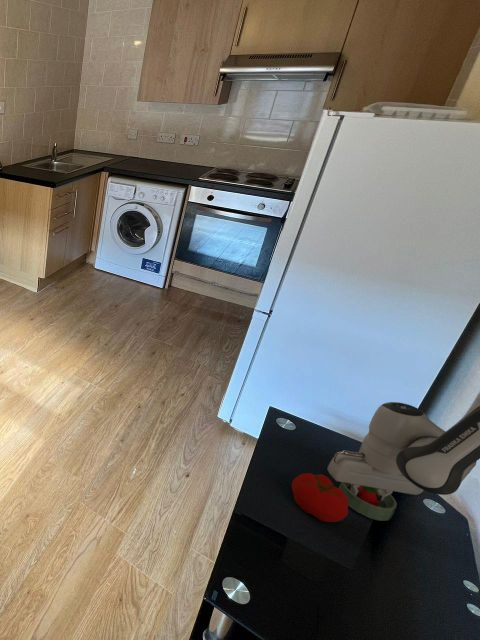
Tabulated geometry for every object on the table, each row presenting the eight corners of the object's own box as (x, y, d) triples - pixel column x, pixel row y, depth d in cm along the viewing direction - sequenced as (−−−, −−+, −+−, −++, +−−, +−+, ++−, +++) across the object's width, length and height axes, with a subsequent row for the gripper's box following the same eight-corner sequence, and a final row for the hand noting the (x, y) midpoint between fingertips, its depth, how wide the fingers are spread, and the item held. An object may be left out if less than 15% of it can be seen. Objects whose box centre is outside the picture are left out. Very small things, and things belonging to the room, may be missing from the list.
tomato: (338, 537, 103) (349, 510, 100) (282, 504, 112) (291, 478, 109) (347, 513, 110) (357, 488, 107) (293, 484, 118) (301, 460, 116)
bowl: (372, 491, 117) (377, 479, 115) (402, 526, 106) (408, 513, 105) (328, 483, 119) (333, 472, 118) (353, 517, 109) (358, 504, 107)
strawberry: (366, 497, 114) (372, 483, 113) (377, 509, 110) (383, 495, 109) (350, 494, 115) (355, 480, 113) (360, 506, 111) (365, 492, 110)
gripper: (345, 458, 107) (329, 498, 111) (438, 473, 103) (418, 514, 107) (330, 441, 113) (316, 479, 117) (418, 455, 109) (400, 494, 113)
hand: (365, 496), depth 112 cm, fingers closed on strawberry, 4 cm apart
